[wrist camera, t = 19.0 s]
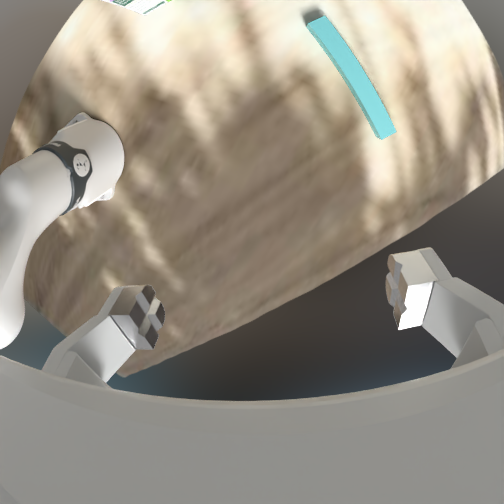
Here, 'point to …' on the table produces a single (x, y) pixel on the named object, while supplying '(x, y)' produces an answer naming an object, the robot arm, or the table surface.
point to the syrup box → (139, 5)
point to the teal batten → (352, 76)
